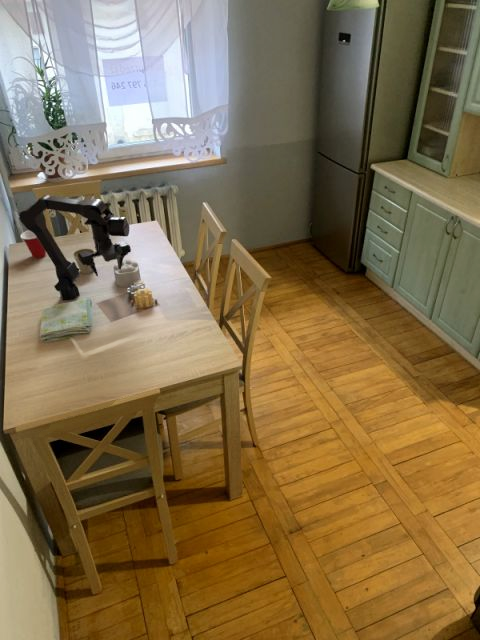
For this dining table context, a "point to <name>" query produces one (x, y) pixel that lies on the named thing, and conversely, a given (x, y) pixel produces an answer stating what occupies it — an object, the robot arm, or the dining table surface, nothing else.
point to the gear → (133, 290)
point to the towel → (66, 320)
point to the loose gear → (143, 297)
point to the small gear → (139, 283)
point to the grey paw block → (127, 273)
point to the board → (122, 307)
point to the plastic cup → (33, 244)
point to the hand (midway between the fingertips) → (108, 272)
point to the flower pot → (82, 267)
